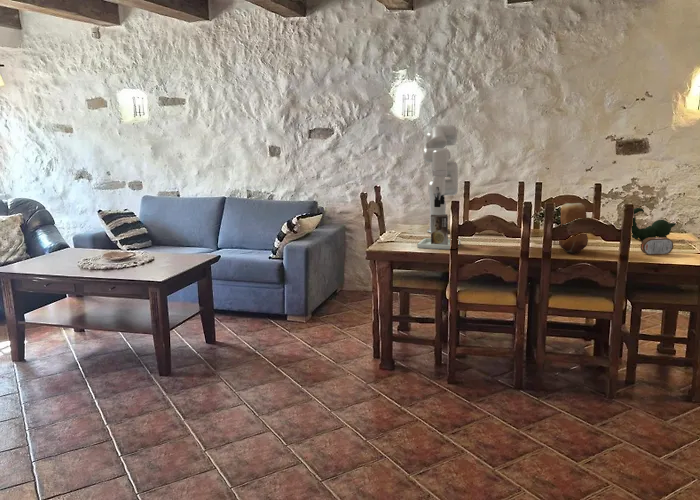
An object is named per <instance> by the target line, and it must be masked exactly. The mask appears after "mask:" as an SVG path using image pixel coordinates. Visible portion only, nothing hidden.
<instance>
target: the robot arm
mask: <svg viewBox="0 0 700 500" xmlns="http://www.w3.org/2000/svg"><path fill="white" fill-rule="evenodd" d="M425 137H426V142H425V144H424V146H423V149H422V150H423V151H422V152H423V153H422V157H423V161H424V162H425V163H428V164H429V163H430V174H431V176H432V177H433V179H432V180H430V181H429V183H428V195H429V196H428V197H429V228H427V230H426V232H427V233H430V234H431V215H438V214H447V213H446V212H447V211H446V210H447V209H446V208H447V207H446V205H447V204H446V201H445V198H446V197H445V196H455V195H457V194H458V192H459V170H458V169H459V168H458V167H459V166H458V163H457V162H456V161H453V160H451V151H450V150H449V149H448V148H446V147H449V146H451V147H452V146H454V145H455V144H456V143H457V140H458V130H457V127H456V126H455V125H453V124H447V125H445V124H443V125H442V124H441V125H440V124H439V125H435V126H433V128H432V129H431V131H429V132H427V133H426V136H425ZM446 178H449V179H446Z"/></svg>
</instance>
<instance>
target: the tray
mask: <svg viewBox="0 0 700 500" xmlns="http://www.w3.org/2000/svg"><path fill="white" fill-rule="evenodd" d="M450 239H451V238H450ZM450 239H449V238H448V245H438V244H431V237H430V238H428V237H427V238H423V239H422V240H420V241H419V242H418V243H417V246H416V247H417V249H432V250H446V251H447V250H449V249H450ZM458 240H459V246H460V245H461V239H458ZM449 251H450V250H449Z"/></svg>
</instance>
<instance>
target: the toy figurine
mask: <svg viewBox="0 0 700 500" xmlns="http://www.w3.org/2000/svg"><path fill="white" fill-rule="evenodd" d="M633 210H634V218H633V226H632V233H631V236H632V237H631V238H632V239H634V240H642V241H643V240H644V239H646V238H649V237H667V236H670V233H671V231H672V228H674V227H675V226H677V223H674V222H669V221H667V220H666V219H657V220H655V221H653V222H652V224H651V225H649V226H646V227H644V228H642V227H641V228H639V227H638V224H637V222H636V221H637V220H636V217H635V214H638V213H639V212H642V213H644V212H645V210H644V209H643V208H642V207H635V208H633ZM667 238H668V237H667Z"/></svg>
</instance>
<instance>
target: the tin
mask: <svg viewBox="0 0 700 500" xmlns="http://www.w3.org/2000/svg"><path fill="white" fill-rule="evenodd" d="M673 249H674V241H673V240H672V239H671V238H669V237H649V238H646V239H644V240H642V241H641V244H640V250H641V252H642V253H643V254H646V255H647V256H660V255H664V256H665V255H668V254H670V253H671V252H672V251H673Z"/></svg>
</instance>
